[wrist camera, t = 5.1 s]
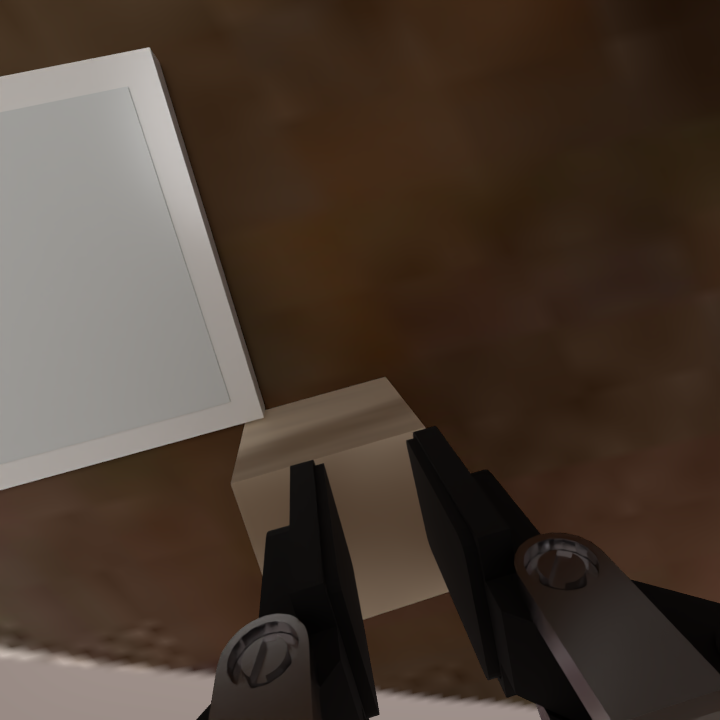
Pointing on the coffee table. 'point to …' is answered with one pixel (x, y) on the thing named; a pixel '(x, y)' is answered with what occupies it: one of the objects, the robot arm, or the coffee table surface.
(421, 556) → the maple cube
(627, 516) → the coffee table surface
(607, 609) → the robot arm
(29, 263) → the plate
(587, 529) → the coffee table surface
